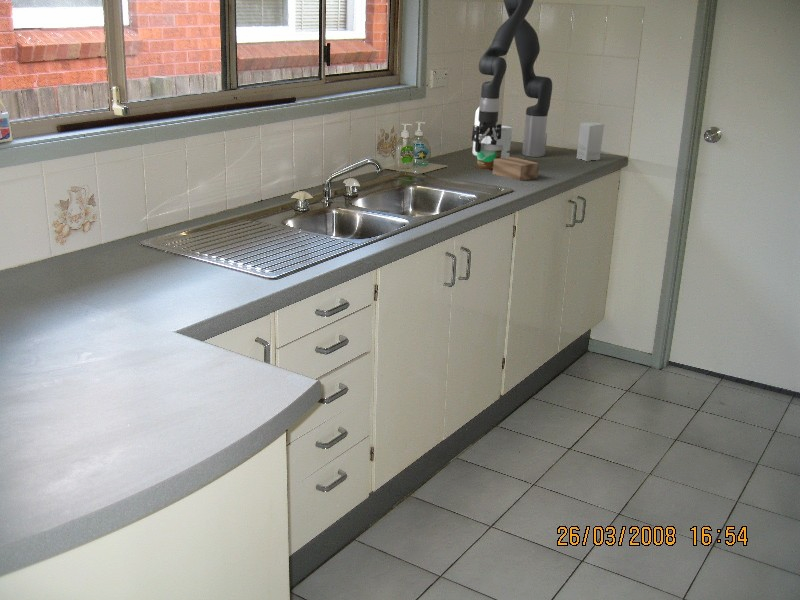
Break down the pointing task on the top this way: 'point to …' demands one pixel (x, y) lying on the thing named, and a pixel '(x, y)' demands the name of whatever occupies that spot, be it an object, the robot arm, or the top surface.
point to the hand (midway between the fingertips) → (485, 151)
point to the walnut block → (515, 168)
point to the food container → (488, 155)
